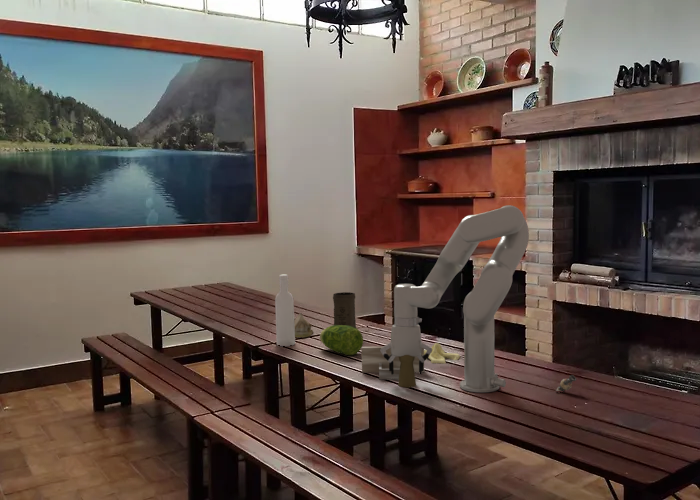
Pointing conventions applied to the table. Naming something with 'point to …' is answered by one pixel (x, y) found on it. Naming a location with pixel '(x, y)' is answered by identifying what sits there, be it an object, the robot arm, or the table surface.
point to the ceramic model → (302, 327)
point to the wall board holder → (383, 363)
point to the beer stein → (344, 309)
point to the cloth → (440, 354)
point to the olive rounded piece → (406, 371)
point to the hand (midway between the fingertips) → (406, 373)
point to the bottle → (284, 314)
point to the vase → (566, 383)
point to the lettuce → (342, 339)
